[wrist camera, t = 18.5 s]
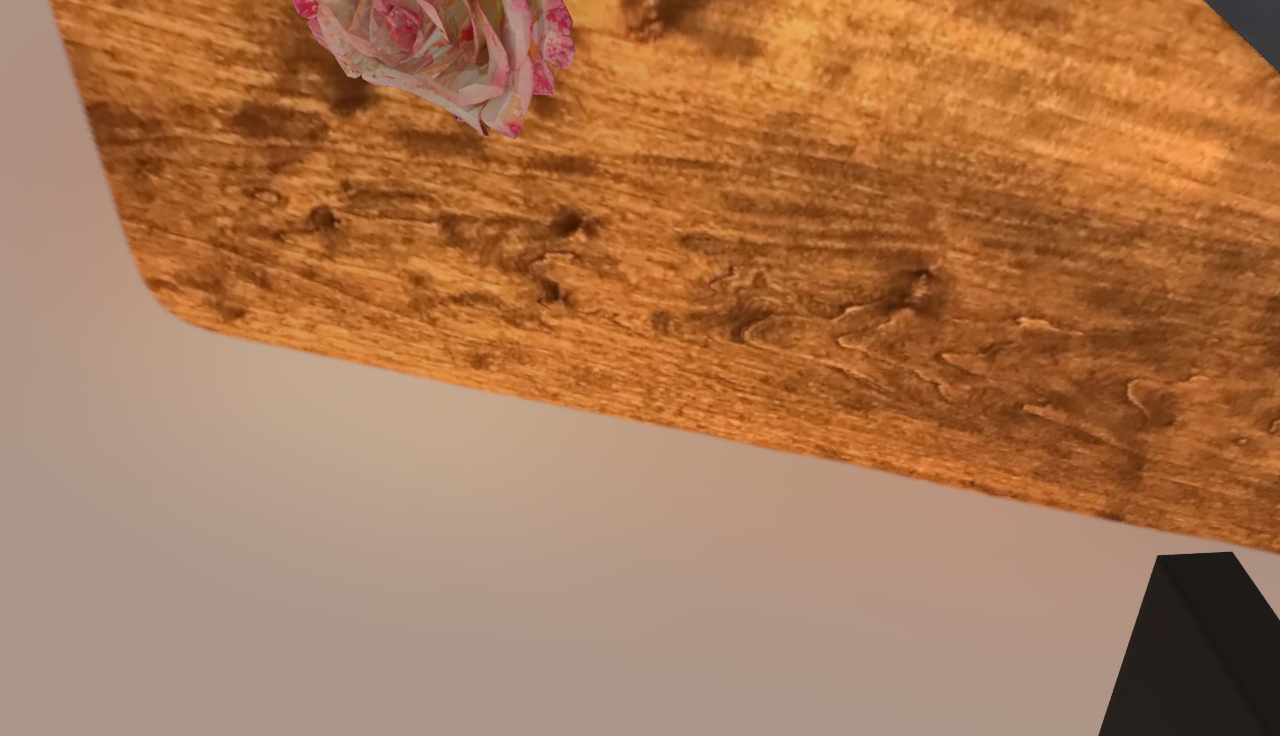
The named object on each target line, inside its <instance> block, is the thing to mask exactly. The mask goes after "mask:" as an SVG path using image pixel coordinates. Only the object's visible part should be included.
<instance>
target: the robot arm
mask: <svg viewBox="0 0 1280 736" xmlns="http://www.w3.org/2000/svg"><path fill="white" fill-rule="evenodd" d="M1099 736H1280V620H1279V619H1278V617H1277V616H1276V614H1275V613H1274V611H1273V610H1272V608H1271V607H1270V605H1269V604H1268V603H1267V601H1266V600H1265V598H1264V597H1263V595H1262V594H1261V592H1260V591H1259V590H1258V588H1257V587H1256V585H1255V584H1254V582H1253V581H1252V579H1251V578H1250V577H1249V575H1248V574H1247V572H1246V571H1245V569H1244V568H1243V566H1242V565H1241V564H1240V562H1239V561H1238V559H1237V558H1236V557H1235V555H1234V553H1233V552H1218V553H1196V554H1176V555H1158V556H1157V559H1156V562H1155V565H1154V568H1153V571H1152V574H1151V577H1150V580H1149V583H1148V586H1147V589H1146V592H1145V595H1144V598H1143V601H1142V605H1141V608H1140V610H1139V614H1138V617H1137V620H1136V623H1135V626H1134V629H1133V632H1132V635H1131V638H1130V641H1129V644H1128V647H1127V650H1126V653H1125V656H1124V659H1123V662H1122V666H1121V668H1120V672H1119V675H1118V677H1117V681H1116V684H1115V687H1114V690H1113V693H1112V696H1111V699H1110V702H1109V705H1108V708H1107V711H1106V714H1105V717H1104V720H1103V723H1102V726H1101V729H1100V733H1099Z"/></svg>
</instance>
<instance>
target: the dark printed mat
mask: <svg viewBox="0 0 1280 736" xmlns="http://www.w3.org/2000/svg"><path fill="white" fill-rule="evenodd" d="M1205 1H1206V2H1207V3H1208V4H1209V5H1210V6H1211V7H1212V8H1213V9H1214V10H1215V11H1216V12H1217V13H1218V14H1219V15H1220V16H1221V17H1222V18H1223V19H1224V20H1225V21H1227V22H1228V23H1229V24H1230V25H1231V26H1232V27H1233V28H1234V29H1235V30H1236V31H1237V32H1238V33H1239V34H1240V35H1241V36H1242V37H1243V38H1244V39H1245V40H1246V41H1247V42H1248V43H1249V44H1250V45H1252V46H1253V47H1254V48H1255V49H1256V50H1257V51H1258V52H1259V53H1260V54H1261V55H1262V56H1263V57H1264V58H1265V59H1266V60H1267V61H1268V62H1269V63H1270V64H1271V65H1272V66H1273V67H1274V68H1275V69H1276V70H1278V71H1279V72H1280V0H1205Z"/></svg>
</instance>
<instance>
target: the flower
mask: <svg viewBox="0 0 1280 736" xmlns="http://www.w3.org/2000/svg"><path fill="white" fill-rule="evenodd" d="M293 5H294V7H295V9H296V11H297V12H298V14H299V15H300V16H302V17H303V18H307V19H310V20H309V21H308V22H307V24H308V26H309V28H310V29H311V31H312V33H313V35H314V36H315V38H316V39H317V41H318V42H319V44H320V45H322V46H323V47H324V48H326V49H327V50H329V51H330V52H331V53H332V54H333V55H334V56H335V58H336V59H337V61H338V62H339V64H340V65H341V67H342V69H343V70H344V72H345V73H346V75H347V76H349V77H352V78H357V77H358V76H360V75H361V74H362V79H364V80H366V81H368V82H370V83H372V84H374V85H380V86H387V87H394V88H397V89H401V90H405V91H408V92H410V93H412V94H415V95H417V96H420V97H422V98H424V99H425V100H427V101H429V102H431V103H433V104H435V105H437V106H439V107H441V108H443V109H445V110H447V111H449V112H450V113H451V114H452V115H453V117H454V118H455V119H456V120H457V121H461V122H467V123H468V124H469V125H471V126H472V127H473V128H474V129H476V130H477V131H478V132H480V133H481V134H482V135H483V136H485V137H486V138H488V137H489V135H488V132H487V130H486V128H485V127H484V126H482V125H481V124H480V122H479V120H481V119H482V121H483V122H484V123H485V124H486V125H488V126H489V127H490V128H491V129H492V130H494V131H496V132H499V133H502V134H504V135H506V136H508V137H510V138H513V139H516V138H517V136H518V135H519V134H520V132H521V129H522V126H523V122H524V119H525V116H526V113H527V110H528V107H529V104H530V101H531V97H532V95H534V94H538V95H553V92H554V79H553V75H554V69H555V66H556V67H558V68H560V69H564V68H567V67H569V66H571V65H572V62H573V58H574V54H575V49H574V45H573V41H572V37H568V36H561V35H569V34H570V30H571V27H572V23H573V21H572V19H571V16H570V14H569V12H568V10H567V8H566V6H565V4H564V2H563V0H293ZM560 7H562V8H560ZM566 54H567V55H566ZM546 61H547V62H549V63H551V64H552V69H553V72H552V71H551V69H550V67H549V65H548V64H547V62H546Z"/></svg>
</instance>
